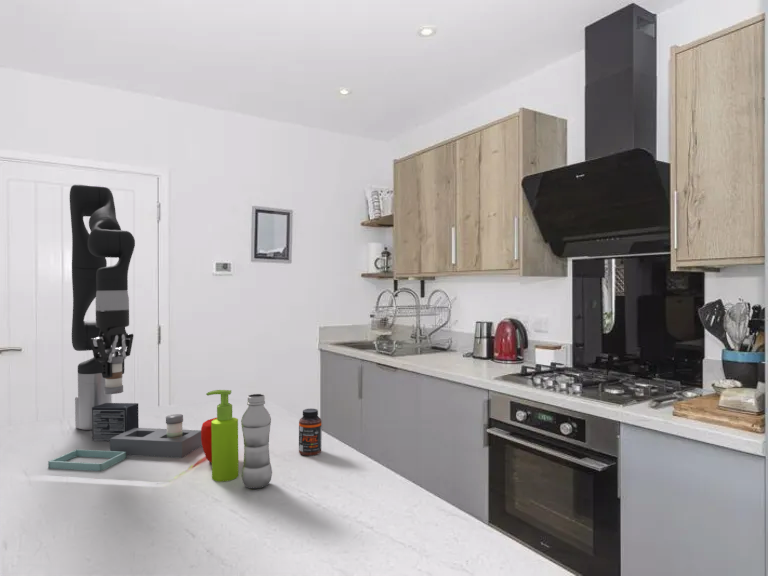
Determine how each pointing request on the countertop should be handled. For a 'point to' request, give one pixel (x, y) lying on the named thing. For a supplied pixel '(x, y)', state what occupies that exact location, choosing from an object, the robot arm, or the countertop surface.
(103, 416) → the small box
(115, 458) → the tray
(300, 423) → the supplement bottle
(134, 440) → the block
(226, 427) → the soap dispenser
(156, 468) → the countertop surface
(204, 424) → the apple
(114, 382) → the fuse
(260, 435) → the plastic bottle
